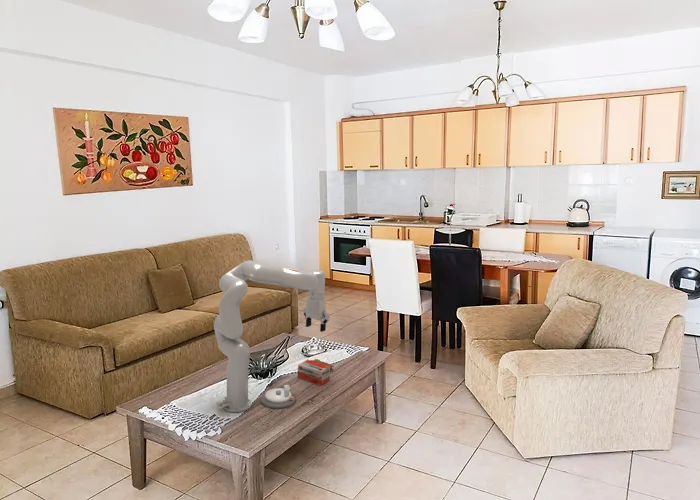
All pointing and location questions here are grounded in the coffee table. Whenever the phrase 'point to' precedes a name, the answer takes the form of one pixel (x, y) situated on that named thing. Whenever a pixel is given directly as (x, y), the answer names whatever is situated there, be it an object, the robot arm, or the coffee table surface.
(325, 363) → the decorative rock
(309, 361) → the medicine box
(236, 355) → the robot arm
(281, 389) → the dial disc
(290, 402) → the dial base
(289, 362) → the coffee table surface
